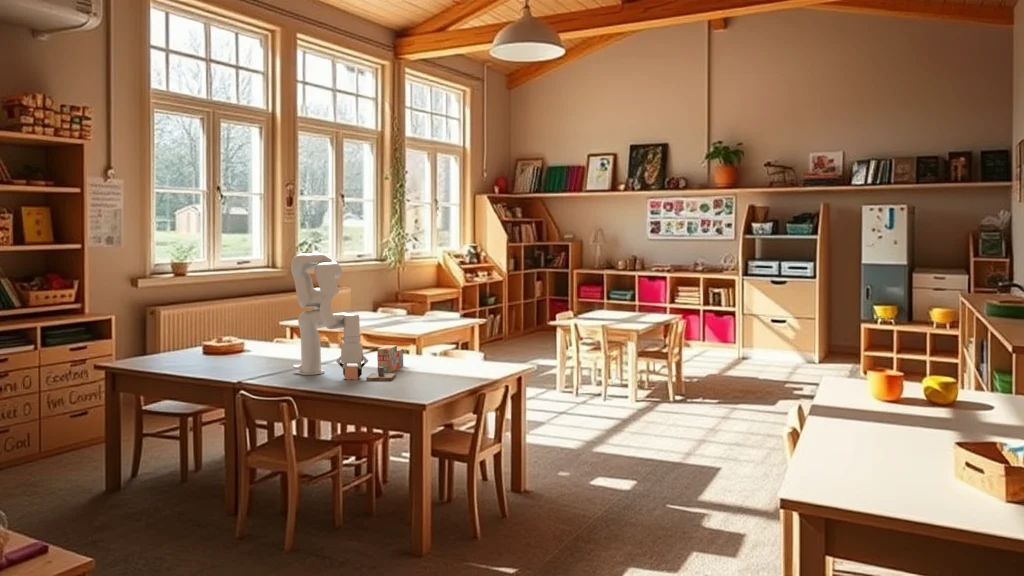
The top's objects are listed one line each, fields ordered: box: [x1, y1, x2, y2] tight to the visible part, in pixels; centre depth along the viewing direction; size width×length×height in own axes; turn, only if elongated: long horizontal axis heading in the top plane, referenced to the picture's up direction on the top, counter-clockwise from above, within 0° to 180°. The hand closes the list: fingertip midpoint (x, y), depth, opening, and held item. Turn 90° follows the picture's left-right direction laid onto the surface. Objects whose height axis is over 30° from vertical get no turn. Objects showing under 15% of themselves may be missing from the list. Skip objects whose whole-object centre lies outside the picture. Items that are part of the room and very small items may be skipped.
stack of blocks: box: [376, 344, 404, 373], centre depth 423 cm, size 21×6×12 cm, turn 168°
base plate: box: [365, 366, 397, 382], centre depth 397 cm, size 12×12×6 cm
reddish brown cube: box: [344, 364, 361, 380], centre depth 397 cm, size 6×6×6 cm
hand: (352, 376), depth 397 cm, fingers closed on reddish brown cube, 6 cm apart
